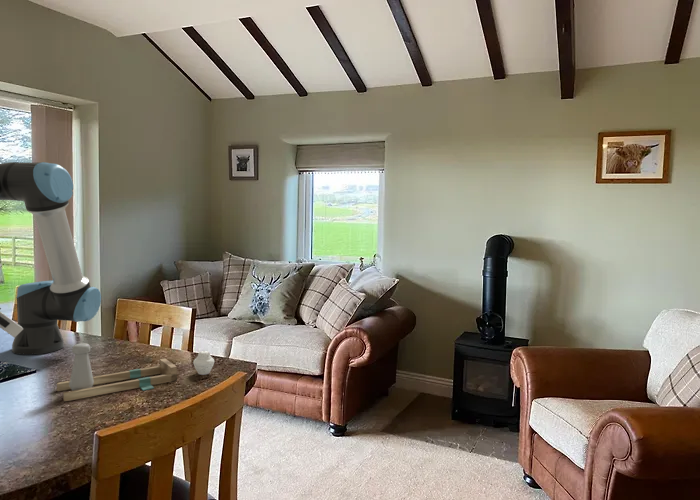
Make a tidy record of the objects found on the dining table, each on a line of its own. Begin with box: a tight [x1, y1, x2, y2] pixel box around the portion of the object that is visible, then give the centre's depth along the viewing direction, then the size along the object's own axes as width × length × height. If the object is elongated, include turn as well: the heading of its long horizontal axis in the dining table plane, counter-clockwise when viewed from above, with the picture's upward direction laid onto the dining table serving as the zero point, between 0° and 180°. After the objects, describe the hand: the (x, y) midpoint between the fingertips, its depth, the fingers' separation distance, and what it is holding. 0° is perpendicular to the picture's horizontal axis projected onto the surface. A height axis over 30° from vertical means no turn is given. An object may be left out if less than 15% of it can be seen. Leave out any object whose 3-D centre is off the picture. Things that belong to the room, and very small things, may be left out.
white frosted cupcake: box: [192, 350, 215, 376], centre depth 157 cm, size 6×6×7 cm
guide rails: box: [56, 358, 178, 402], centre depth 145 cm, size 16×29×4 cm, turn 129°
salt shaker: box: [69, 342, 94, 391], centre depth 138 cm, size 6×6×13 cm
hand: (18, 332), depth 129 cm, fingers closed
